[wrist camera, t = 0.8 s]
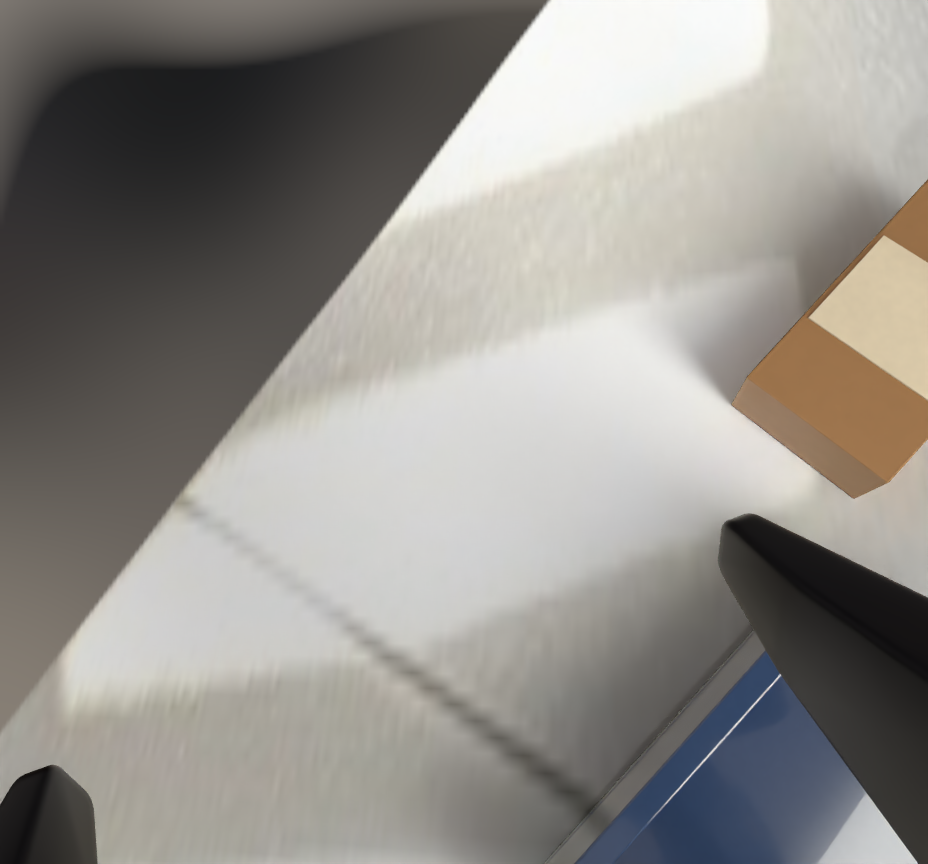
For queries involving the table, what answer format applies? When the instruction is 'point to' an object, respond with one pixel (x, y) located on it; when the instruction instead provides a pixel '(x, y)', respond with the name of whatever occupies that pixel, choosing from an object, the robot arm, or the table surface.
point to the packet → (855, 364)
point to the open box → (737, 786)
